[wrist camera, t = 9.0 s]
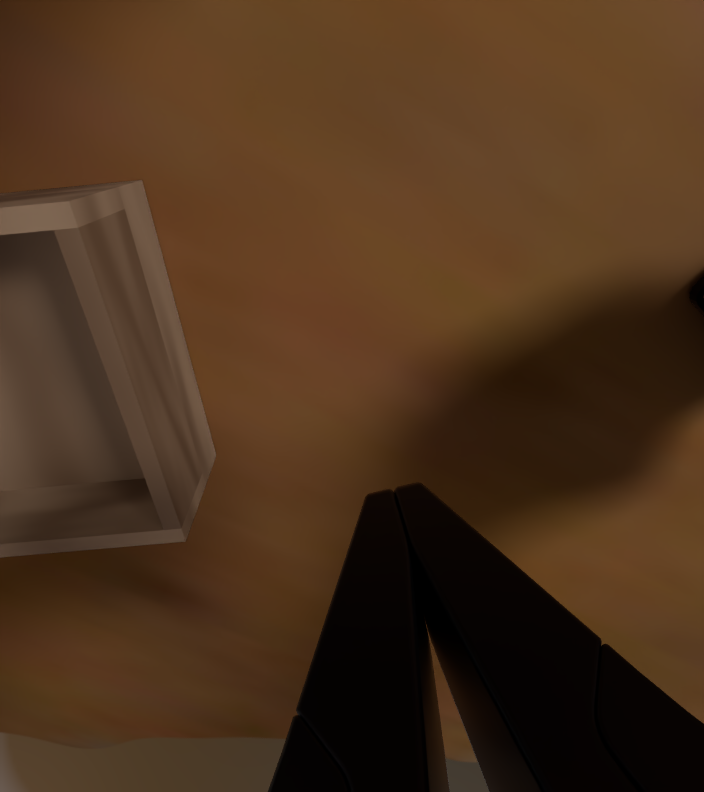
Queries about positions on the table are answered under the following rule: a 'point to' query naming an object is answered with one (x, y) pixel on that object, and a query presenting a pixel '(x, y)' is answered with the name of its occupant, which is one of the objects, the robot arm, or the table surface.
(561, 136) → the table surface
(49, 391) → the tray
